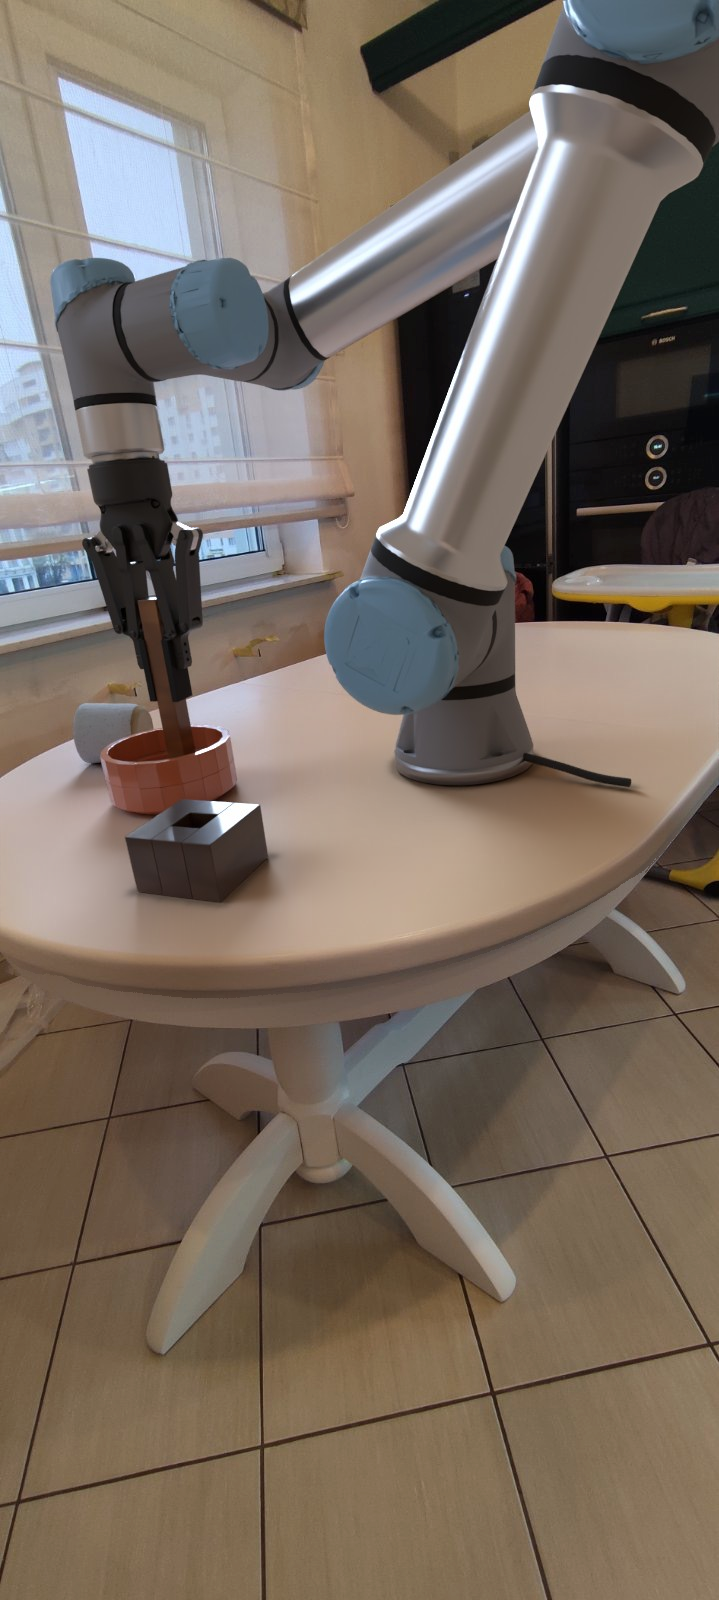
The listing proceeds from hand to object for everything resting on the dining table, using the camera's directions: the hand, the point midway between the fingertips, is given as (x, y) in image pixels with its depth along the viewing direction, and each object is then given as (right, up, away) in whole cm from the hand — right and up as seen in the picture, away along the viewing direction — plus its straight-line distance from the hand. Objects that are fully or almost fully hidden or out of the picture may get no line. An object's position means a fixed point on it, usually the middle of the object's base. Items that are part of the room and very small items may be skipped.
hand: (171, 698), depth 78 cm
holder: (+7, -17, -17) cm, 25 cm away
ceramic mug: (-11, -6, +17) cm, 21 cm away
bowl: (0, -10, +2) cm, 11 cm away
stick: (+1, -7, +3) cm, 7 cm away
